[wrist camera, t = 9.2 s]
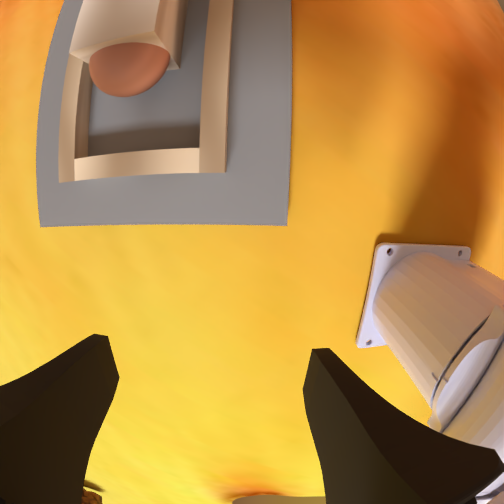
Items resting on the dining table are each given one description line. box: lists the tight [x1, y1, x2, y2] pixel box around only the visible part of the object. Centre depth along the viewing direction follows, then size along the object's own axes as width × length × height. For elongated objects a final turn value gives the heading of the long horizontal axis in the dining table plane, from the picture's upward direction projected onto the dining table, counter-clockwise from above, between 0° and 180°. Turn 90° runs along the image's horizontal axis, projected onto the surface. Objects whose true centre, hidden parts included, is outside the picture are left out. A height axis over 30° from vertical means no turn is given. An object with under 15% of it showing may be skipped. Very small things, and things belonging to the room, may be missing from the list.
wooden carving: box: [81, 488, 102, 504], centre depth 25 cm, size 16×5×10 cm, turn 95°
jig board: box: [36, 0, 292, 227], centre depth 11 cm, size 16×24×2 cm, turn 178°
